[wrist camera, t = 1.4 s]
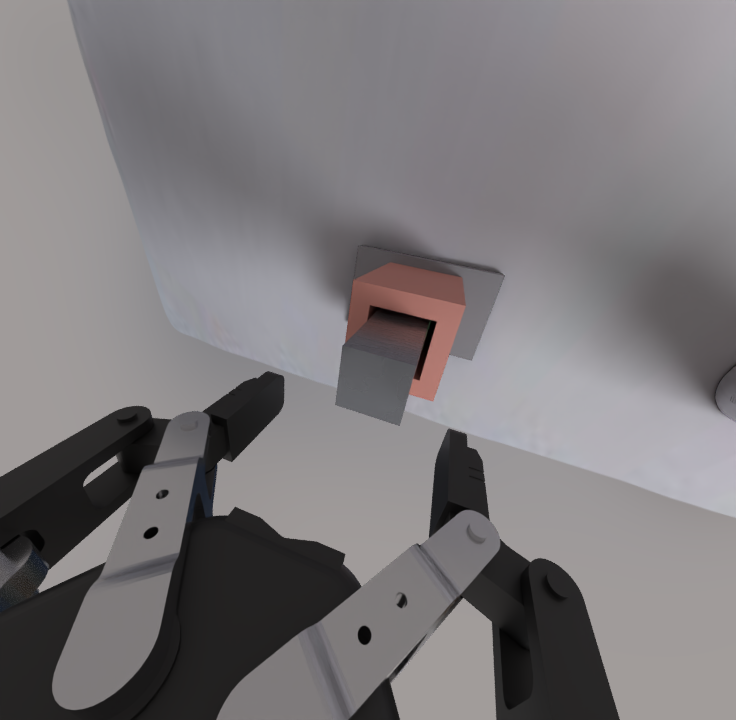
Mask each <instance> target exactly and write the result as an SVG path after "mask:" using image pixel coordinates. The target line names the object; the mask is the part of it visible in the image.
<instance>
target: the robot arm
mask: <svg viewBox="0 0 736 720" xmlns="http://www.w3.org/2000/svg"><path fill="white" fill-rule="evenodd" d="M715 399H716V403H717V406H718V407H719V409H720V410H721V412H722V413H723V414H725V415H726V416H727V417H729V418H730V419H732V420H733V421H734V422H736V366H735V367H734V368H732V369H731V370H730V371H729V372H728V373H727V374H726V375H725V376H724V377H723V379H722V380H721V381H720V383H719V385H718V387H717V390H716V397H715ZM283 404H284V377H283V376H282V375H278V374H276V373H272V372H269V371H268V372H265V373H264V374H263V375H261V376H260V377H259V378H258V379H257V378H253V379H250V380H248V381H245V382H243V383H242V384H240V385H239V386H238V387H236V389H233V390H232V391H231V392H229V394H226V395H225V396H223V397H222V398H221V399H219V400H218V401H217V402H215V403H214V404H212V405H211V406H210V407H208V408H207V409H205V410H204V411H203V412H198V411H192V412H187V413H183V414H180V415H178V416H176V417H175V418H173V419H172V420H171V419H170V420H169V419H157V418H152V415H151V412H150V410H149V409H148V408H146V407H143V406H132V407H126V408H123V409H120V410H117V411H115V412H113V413H111V414H109V415H108V416H106V417H104V418H102V419H101V420H99V421H97V422H95V423H94V424H92V425H90V426H88V427H87V428H85V429H83V430H81V431H80V432H78V433H76V434H75V435H73V436H71V437H69V438H68V439H66V440H64V441H62V442H60V443H59V444H57V445H55V446H54V447H52V448H50V449H48V450H47V451H45V452H43V453H41V454H40V455H38V456H36V457H34V458H33V459H31V460H29V461H27V462H26V463H24V464H22V465H21V466H19V467H17V468H15V469H14V470H12V471H10V472H8V473H7V474H5V475H3V476H1V477H0V720H400V718H399V714H398V711H397V707H396V703H395V700H394V696H393V692H392V688H391V683H392V682H393V680H394V679H395V678H396V677H397V676H398V675H399V673H400V672H401V671H402V670H403V669H404V668H405V667H406V665H407V664H408V663H409V662H410V660H412V658H413V657H414V656H415V655H416V654H417V652H418V651H419V650H420V648H421V647H422V646H423V645H424V644H425V642H426V641H427V640H428V639H429V637H430V636H431V635H432V634H433V633H434V631H435V630H436V629H437V628H438V627H439V626H440V624H441V623H442V622H443V621H444V620H445V618H446V617H447V616H448V615H449V614H450V613H451V612H452V610H453V609H454V608H455V607H456V606H457V605H458V603H459V602H460V601H461V600H462V599H463V598H465V599H466V600H467V601H468V602H469V603H471V604H472V605H473V606H474V607H475V608H476V609H478V610H479V611H480V612H481V613H482V614H484V615H485V616H486V617H487V618H488V619H489V620H491V621H492V630H493V654H494V676H495V697H496V718H497V720H620V719H619V716H618V712H617V709H616V706H615V702H614V699H613V696H612V692H611V689H610V686H609V682H608V679H607V676H606V672H605V669H604V666H603V663H602V659H601V656H600V652H599V649H598V646H597V642H596V639H595V636H594V633H593V629H592V626H591V622H590V619H589V615H588V612H587V609H586V605H585V602H584V599H583V596H582V594H581V592H580V590H579V588H578V586H577V585H576V583H575V582H574V581H573V579H572V578H571V577H570V576H569V575H568V574H567V573H566V572H565V571H564V570H563V569H562V568H561V567H559V566H558V565H557V564H555V563H553V562H551V561H549V560H546V559H541V558H538V559H535V560H533V561H532V562H529V561H528V560H526V559H525V558H523V557H522V556H521V555H519V554H518V553H516V552H515V551H514V550H512V549H511V548H509V547H508V546H507V545H505V543H504V542H503V541H501V539H500V537H499V534H498V532H497V530H496V528H495V527H494V525H493V524H492V523H491V522H490V520H489V512H488V504H487V495H486V487H485V483H484V482H485V478H484V474H483V472H484V471H483V462H482V459H481V457H480V456H479V454H478V452H477V450H475V449H472V448H469V447H467V435H466V434H465V433H462V432H458V431H455V430H452V429H448V430H447V433H446V435H445V437H444V440H443V442H442V445H441V448H440V450H439V452H438V455H437V459H436V463H435V472H434V483H433V496H432V508H431V519H430V531H429V539H428V540H426V541H425V542H424V543H423V544H421V545H419V544H415V545H413V546H411V547H410V548H409V549H407V550H406V551H405V552H404V553H402V554H401V555H400V556H399V557H398V558H396V559H395V560H394V561H393V562H391V563H390V564H389V565H388V566H387V567H385V568H384V569H383V570H382V571H380V572H379V573H378V574H377V575H376V576H374V577H373V578H372V579H371V580H370V581H368V582H367V583H366V584H365V585H363V586H362V587H361V585H360V583H359V582H358V580H357V579H356V577H355V576H354V575H353V574H352V572H351V571H350V570H349V569H348V568H347V567H345V565H343V562H344V557H345V554H344V553H341V552H339V551H337V550H335V549H332V548H330V547H328V546H325V545H323V544H321V543H318V542H314V541H306V540H297V539H289V538H284V537H282V536H280V535H279V534H278V533H277V532H276V531H275V530H274V529H273V528H271V527H270V526H269V525H268V524H267V523H266V522H265V521H264V520H263V519H261V518H260V517H257V516H255V515H253V514H250V513H248V512H246V511H244V510H241V509H239V508H237V507H235V508H234V509H233V510H232V512H231V513H230V514H229V515H228V516H213V500H214V492H215V484H216V475H217V463H218V462H219V461H220V460H221V459H222V458H223V459H226V460H228V461H231V462H232V461H233V460H234V459H235V458H236V457H237V456H238V455H239V454H240V453H241V452H242V451H243V450H244V449H245V448H246V447H247V446H248V445H249V444H250V443H251V442H252V441H253V440H254V439H255V437H257V435H258V434H259V433H260V432H261V431H262V430H263V429H264V428H265V427H266V426H267V425H268V424H269V423H270V422H271V421H272V420H273V419H274V418H275V417H276V416H277V415H278V414H279V412H280V410H281V409H282V407H283ZM115 455H116V457H117V459H118V462H117V463H115V464H114V465H113V466H111V467H110V468H109V469H107V470H106V471H105V472H103V473H102V474H101V475H99V476H98V477H97V478H95V479H94V480H92V481H91V482H90V483H88V484H87V485H86V486H84V487H83V483H84V481H85V479H86V478H87V476H88V475H89V474H90V473H91V472H93V471H94V470H95V469H97V468H98V467H100V466H101V465H102V464H104V463H105V462H107V461H108V460H109V459H111V458H112V457H114V456H115ZM129 498H131V500H130V502H129V505H128V507H127V510H126V513H125V515H124V518H123V520H122V523H121V526H120V528H119V530H118V533H117V536H116V538H115V541H114V543H113V546H112V549H111V551H110V553H109V556H108V559H107V561H106V562H105V563H103V564H101V565H99V566H97V567H94V568H92V569H90V570H88V571H86V572H84V573H82V574H79V575H77V576H75V577H73V578H71V579H68V580H66V581H64V582H62V583H60V584H58V585H56V586H53V587H51V588H49V589H47V590H45V591H43V592H41V593H39V589H38V587H39V586H40V585H41V583H42V582H43V580H44V579H45V577H46V575H47V573H48V570H49V569H51V568H52V567H53V566H54V565H55V564H56V563H57V562H58V561H59V560H61V559H62V558H63V557H64V556H65V555H66V554H67V553H68V552H70V551H71V550H72V549H73V548H74V547H75V546H76V545H78V544H79V543H80V542H81V541H82V540H83V539H84V538H85V537H87V536H88V535H89V534H90V533H91V532H92V531H93V530H94V529H96V527H98V526H99V525H100V524H101V523H102V522H103V521H105V520H106V519H107V518H108V517H109V516H110V515H111V514H112V513H114V512H115V511H116V510H117V509H118V508H119V507H120V506H121V505H123V504H124V503H125V502H126V501H127V500H128V499H129Z"/></svg>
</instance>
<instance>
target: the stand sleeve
mask: <svg viewBox="0 0 736 720" xmlns="http://www.w3.org/2000/svg"><path fill="white" fill-rule="evenodd" d="M504 277H505V275H503V274H501V273H496V272H491V271H486V270H481V269H476V268H471V267H466V266H462V265H457V264H452V263H447V262H442V261H437V260H432V259H427V258H422V257H417V256H412V255H408V254H403V253H398V252H393V251H388V250H383V249H378V248H373V247H368V246H363V245H361V246H358V252H357V260H356V267H355V275H354V280H353V286H352V294H351V302H350V309H349V317H348V325H347V332H346V340H345V343H346V342H347V341H348V340H349V339H350V338H351V337H352V336H353V335H354V334H355V333H356V332H357V331H358V330H359V329H360V328H361V327H362V326H363V325H364V324H365V323H366V322H367V321H368V320H369V319H370V318H371V317H372V316H373V315H374V313H375V312H376V311H377V310H378V309H379V308H384V309H388V310H392V311H397V312H401V313H405V314H409V315H413V316H417V317H421V318H425V319H429V320H431V321H430V325H429V328H428V332H427V335H426V339H425V342H424V346H423V349H422V351H421V354H420V358H419V361H418V364H417V368H416V371H415V375H414V378H413V382H412V385H411V388H410V392H409V394H410V395H413V396H417V397H420V398H423V399H427V400H430V401H433V400H434V397H435V395H436V392H437V389H438V386H439V383H440V380H441V377H442V374H443V371H444V368H445V365H446V362H447V360H448V357H449V355H453V356H456V357H460V358H464V359H468V360H471V361H472V359H473V356H474V354H475V351H476V348H477V346H478V343H479V341H480V338H481V336H482V333H483V331H484V328H485V326H486V323H487V320H488V318H489V315H490V313H491V310H492V308H493V305H494V303H495V300H496V298H497V295H498V292H499V290H500V287H501V285H502V282H503V280H504Z"/></svg>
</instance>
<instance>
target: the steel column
mask: <svg viewBox="0 0 736 720" xmlns="http://www.w3.org/2000/svg"><path fill="white" fill-rule="evenodd" d="M430 321H431V320H429V319H425V318H421V317H417V316H413V315H409V314H405V313H401V312H397V311H392V310H388V309H384V308H379V309H378V310H377V311H376V312H375V313H374V315H373V316H372V317H371V318H370V319H369V320H368V321H367V322H366V323H365V324H364V325H363V326H362V327H361V328H360V329H359V330H358V331H357V332H356V333H355V334H354V335H353V336H352V337H351V338H350V339H349V340H348V341H347V342H346V343H345V344H344V345H343V347H342V355H341V363H340V371H339V379H338V387H337V395H336V403H335V405H337V406H340V407H344V408H346V409H350V410H353V411H356V412H359V413H362V414H365V415H368V416H371V417H374V418H377V419H380V420H383V421H386V422H389V423H392V424H395V425H398V426H400V423H401V419H402V416H403V412H404V409H405V406H406V402H407V399H408V395H409V392H410V388H411V385H412V382H413V378H414V375H415V371H416V368H417V364H418V361H419V358H420V354H421V351H422V349H423V346H424V342H425V339H426V335H427V332H428V328H429V325H430Z"/></svg>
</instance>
